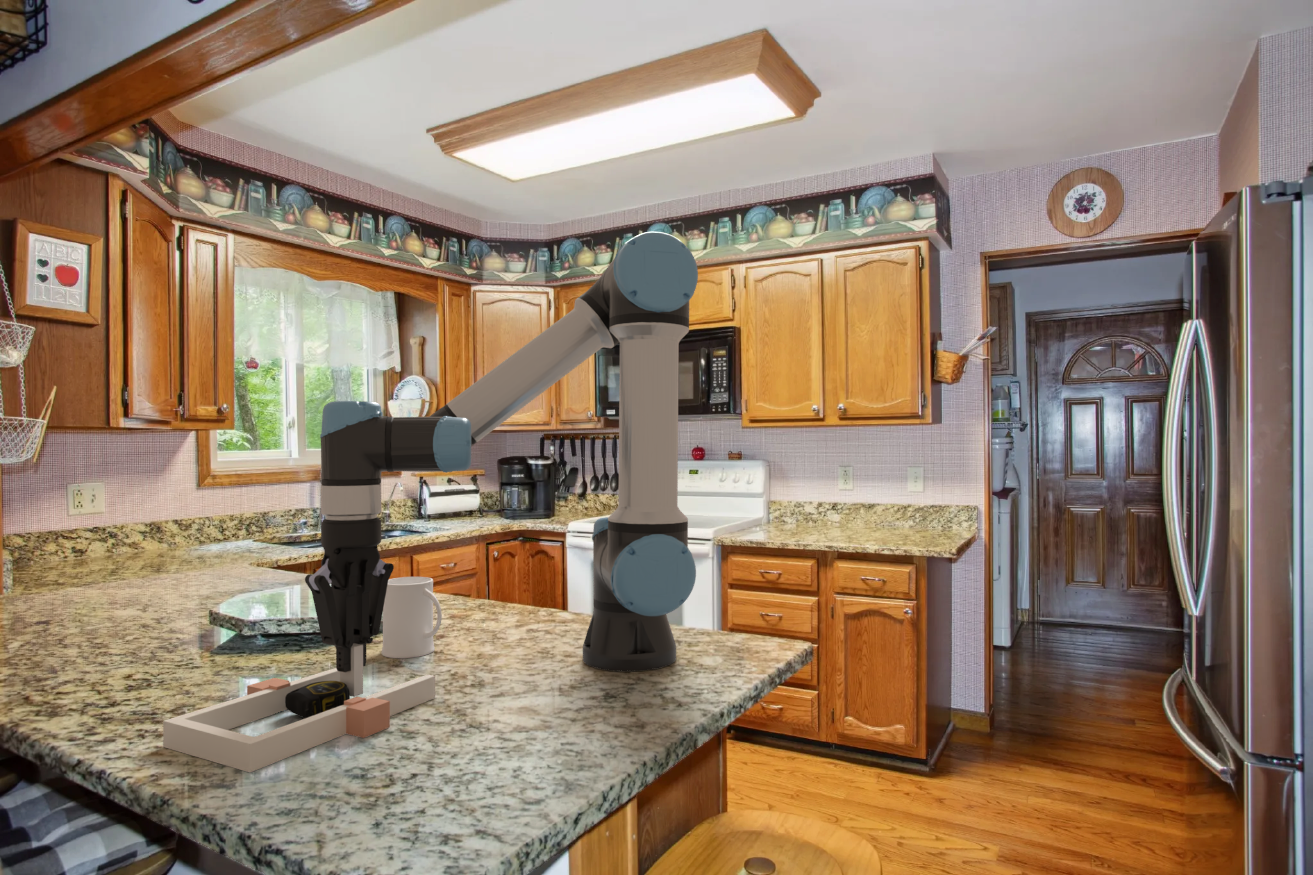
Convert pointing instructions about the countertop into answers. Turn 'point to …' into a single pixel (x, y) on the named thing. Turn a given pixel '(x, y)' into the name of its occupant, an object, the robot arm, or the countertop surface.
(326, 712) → the slotted beam
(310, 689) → the tape measure
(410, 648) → the mug
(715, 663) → the countertop surface
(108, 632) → the countertop surface
